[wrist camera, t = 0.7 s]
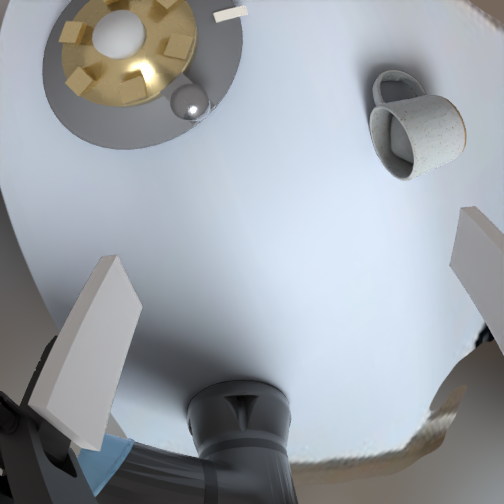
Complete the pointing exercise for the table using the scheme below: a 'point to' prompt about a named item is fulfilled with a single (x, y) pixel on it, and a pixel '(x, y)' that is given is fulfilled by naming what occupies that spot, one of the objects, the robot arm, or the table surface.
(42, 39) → the table surface
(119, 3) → the gold crank wheel
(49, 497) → the robot arm
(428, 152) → the ceramic mug
